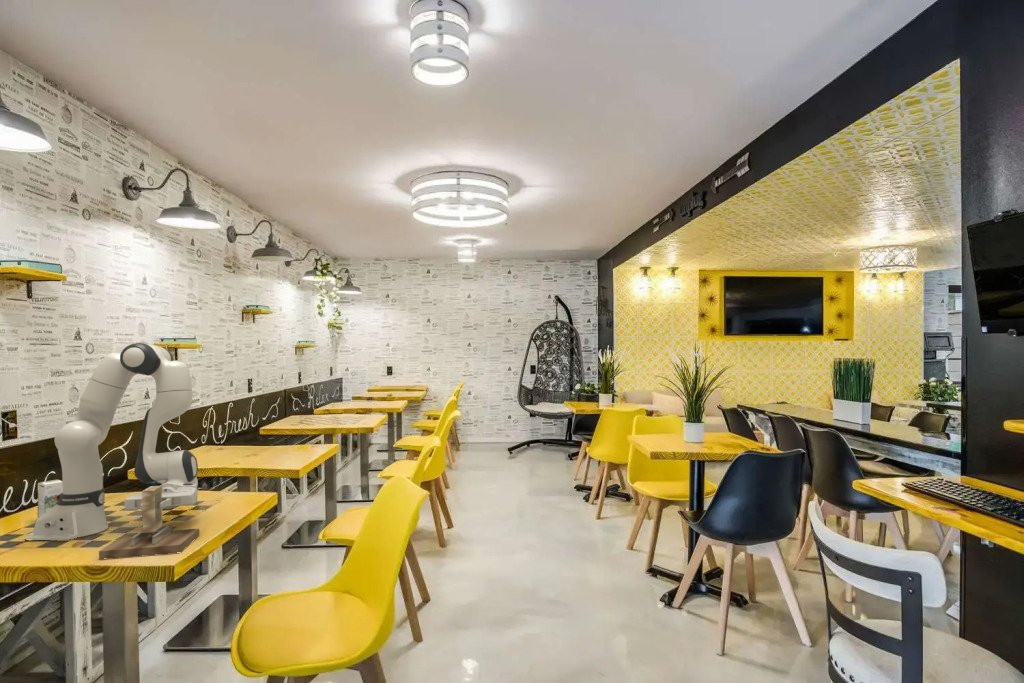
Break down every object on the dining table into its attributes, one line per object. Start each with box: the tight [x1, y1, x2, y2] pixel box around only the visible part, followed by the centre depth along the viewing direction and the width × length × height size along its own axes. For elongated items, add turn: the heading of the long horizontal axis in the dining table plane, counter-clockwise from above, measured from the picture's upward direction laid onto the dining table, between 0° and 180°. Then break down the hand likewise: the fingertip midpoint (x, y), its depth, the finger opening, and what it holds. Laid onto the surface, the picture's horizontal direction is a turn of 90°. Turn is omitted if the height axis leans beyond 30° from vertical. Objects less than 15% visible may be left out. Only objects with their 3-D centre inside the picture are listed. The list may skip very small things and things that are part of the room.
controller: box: [140, 481, 162, 492], centre depth 227 cm, size 4×12×10 cm, turn 57°
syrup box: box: [37, 479, 63, 519], centre depth 203 cm, size 6×6×14 cm
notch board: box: [98, 524, 200, 560], centre depth 172 cm, size 22×16×5 cm
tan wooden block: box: [141, 486, 163, 533], centre depth 173 cm, size 3×6×13 cm, turn 11°
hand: (151, 506), depth 172 cm, fingers closed on tan wooden block, 3 cm apart
